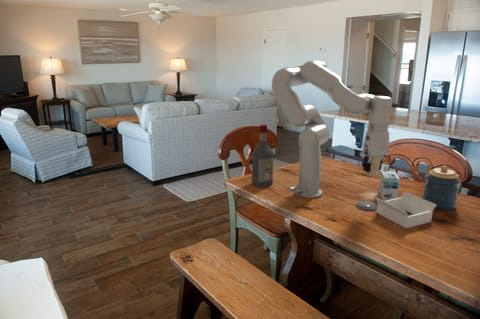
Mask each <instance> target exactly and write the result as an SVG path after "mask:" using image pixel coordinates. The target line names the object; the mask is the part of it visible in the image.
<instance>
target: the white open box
mask: <svg viewBox="0 0 480 319" xmlns="http://www.w3.org/2000/svg"><path fill="white" fill-rule="evenodd" d="M374 198H375V200H376V202H377V204H376V206H377V208H376V214H378V215H380V216H382V217H384V218H386V219H388V220H389V221H392V222H393V223H395V224H397V225H399V226H401V227H403V228H405V229H409V228H414V227H417V226H420V225H424V224H428V223H431V222H432V219H433V212H434V208H435V207H436V204H434V203H432V202H429V201H427V200H424V199H422V198H423V197H419V196H417V195H415V194H413V193H410V192H407V191H405V190H404V191H403V193H402V194H401V196H400V197H398V198H396V199H391V200H382V198H379V197H377V196H375V197H374ZM407 212H408V213H410V215H408V213H407Z"/></svg>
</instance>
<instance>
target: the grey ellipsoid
mask: <svg viewBox="0 0 480 319" xmlns="http://www.w3.org/2000/svg"><path fill="white" fill-rule="evenodd" d="M356 207H357V208H359V209H360V210H363V211H368V212H369V211H376V210H377V204H376V203H374V202H371V201H366V200H361V201H358V202H357V203H356Z"/></svg>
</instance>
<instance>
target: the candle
mask: <svg viewBox="0 0 480 319" xmlns="http://www.w3.org/2000/svg"><path fill="white" fill-rule="evenodd" d="M367 158H369V156H368V157H367ZM380 162H381V156H376V157H372V158H371V161H370V163H371V167H370V172H366V171H364V175H366V176H369V177H374V178H375V177H378V176H379V174H380V170H379V168H380Z"/></svg>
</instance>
